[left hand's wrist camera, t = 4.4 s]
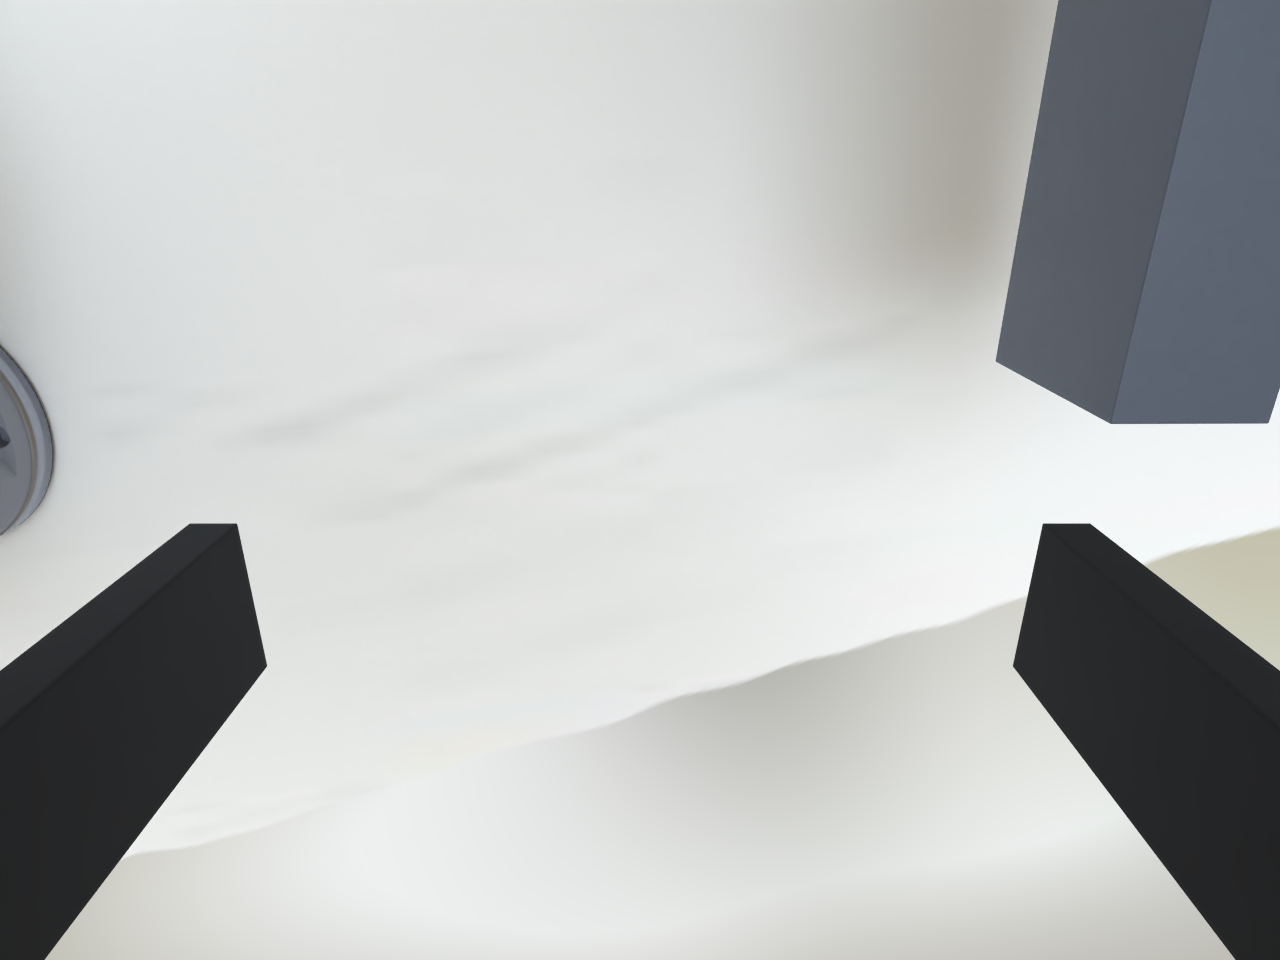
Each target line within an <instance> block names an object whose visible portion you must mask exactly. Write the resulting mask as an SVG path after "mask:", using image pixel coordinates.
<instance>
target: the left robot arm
mask: <svg viewBox="0 0 1280 960" xmlns="http://www.w3.org/2000/svg"><path fill="white" fill-rule="evenodd" d="M51 471H52V443H51V436H50V431H49V427H48V423H47V420H46V417H45V414H44V412H43V409H42V407H41V405H40V402H39V400H38V398H37V396H36V394H35V392H34V391H33V389H32V387H31V385H30V384H29V382H28V381H27V379H26V378H25V376H24V375H23V373H22V372H21V371H20V369H19V368H18V367H17V365H16V364H15V363H14V362H13V360H12V359H11V358H10V357H9V356H8V355H7V354H6V353H5V352H4V351H3V349H2V348H0V536H1V535H3V534H5V533H7V532H8V531H10V530H12V529H14V528H15V527H17V526H18V525H20V524H21V523H22V522H23V521H24V520H26V519H27V518H28V517H29V516H30V515H31V514H32V513H33V511H34V510H35V509H36V508H37V506H38V505H39V503H40V502H41V500H42V498H43V496H44V494H45V492H46V490H47V487H48V484H49V481H50V476H51ZM266 667H267V663H266V659H265V654H264V649H263V645H262V640H261V635H260V630H259V626H258V621H257V616H256V611H255V607H254V602H253V597H252V592H251V588H250V583H249V578H248V574H247V569H246V564H245V559H244V555H243V550H242V545H241V540H240V536H239V531H238V526H237V524H189V525H188V526H186V527H185V528H184V529H182V530H181V531H180V532H179V533H177V534H176V535H175V536H173V537H172V538H171V539H170V540H168V541H167V542H166V543H164V544H163V545H162V546H161V547H159V548H158V549H157V550H155V551H154V552H153V553H152V554H150V555H149V556H148V557H146V558H145V559H144V560H142V561H141V562H140V563H139V564H137V565H136V566H135V567H133V568H132V569H131V570H130V571H128V572H127V573H126V574H124V575H123V576H122V577H121V578H119V579H118V580H117V581H115V582H114V583H113V584H112V585H110V586H109V587H108V588H106V589H105V590H104V591H103V592H101V593H100V594H99V595H97V596H96V597H95V598H94V599H92V600H91V601H90V602H88V603H87V604H86V605H85V606H83V607H82V608H81V609H79V610H78V611H77V612H76V613H74V614H73V615H72V616H70V617H69V618H68V619H66V620H65V621H64V622H63V623H61V624H60V625H59V626H57V627H56V628H55V629H54V630H52V631H51V632H50V633H48V634H47V635H46V636H45V637H43V638H42V639H41V640H39V641H38V642H37V643H36V644H34V645H33V646H32V647H30V648H29V649H28V650H27V651H25V652H24V653H23V654H21V655H20V656H19V657H18V658H16V659H15V660H14V661H12V662H11V663H10V664H9V665H7V666H6V667H5V668H3V669H2V670H1V671H0V960H45V958H46V957H47V956H48V954H49V953H50V952H51V950H52V949H53V948H54V946H55V945H56V944H57V942H58V941H59V940H60V938H61V937H62V936H63V934H64V933H65V932H66V931H67V929H68V928H69V926H70V925H71V924H72V923H73V921H74V920H75V919H76V917H77V916H78V915H79V913H80V912H81V911H82V909H83V908H84V907H85V906H86V904H87V903H88V901H89V900H90V899H91V898H92V896H93V895H94V894H95V892H96V891H97V890H98V888H99V887H100V886H101V884H102V883H103V882H104V880H105V879H106V878H107V877H108V875H109V874H110V873H111V871H112V870H113V869H114V867H115V866H116V865H117V863H118V862H119V861H120V859H121V858H122V857H123V855H124V854H125V853H126V851H127V850H128V849H129V847H130V846H131V845H132V844H133V842H134V841H135V840H136V838H137V837H138V836H139V834H140V833H141V832H142V830H143V829H144V828H145V826H146V825H147V824H148V822H149V821H150V820H151V818H152V817H153V816H154V815H155V813H156V812H157V811H158V809H159V808H160V807H161V805H162V804H163V803H164V801H165V800H166V799H167V797H168V796H169V795H170V793H171V792H172V791H173V789H174V788H175V787H176V786H177V784H178V783H179V782H180V780H181V779H182V778H183V776H184V775H185V774H186V772H187V771H188V770H189V768H190V767H191V766H192V764H193V763H194V762H195V760H196V759H197V758H198V757H199V755H200V754H201V753H202V751H203V750H204V749H205V747H206V746H207V745H208V743H209V742H210V741H211V739H212V738H213V737H214V735H215V734H216V733H217V731H218V730H219V729H220V727H221V726H222V725H223V724H224V722H225V721H226V720H227V718H228V717H229V716H230V714H231V713H232V712H233V710H234V709H235V708H236V706H237V705H238V704H239V702H240V701H241V700H242V698H243V697H244V696H245V695H246V693H247V692H248V691H249V689H250V688H251V687H252V685H253V684H254V683H255V681H256V680H257V679H258V677H259V676H260V675H261V673H262V672H263V671H264V669H265V668H266ZM1013 667H1014V668H1015V669H1016V671H1017V672H1018V673H1019V675H1020V676H1021V677H1022V679H1023V680H1024V681H1025V683H1026V684H1027V685H1028V687H1029V688H1030V689H1031V691H1032V692H1033V693H1034V695H1035V696H1036V697H1037V698H1038V700H1039V701H1040V702H1041V704H1042V705H1043V706H1044V708H1045V709H1046V710H1047V712H1048V713H1049V714H1050V716H1051V717H1052V718H1053V720H1054V721H1055V722H1056V724H1057V725H1058V726H1059V727H1060V729H1061V730H1062V731H1063V733H1064V734H1065V735H1066V737H1067V738H1068V739H1069V741H1070V742H1071V743H1072V745H1073V746H1074V747H1075V749H1076V750H1077V751H1078V753H1079V754H1080V755H1081V757H1082V758H1083V759H1084V760H1085V762H1086V763H1087V764H1088V766H1089V767H1090V768H1091V770H1092V771H1093V772H1094V774H1095V775H1096V776H1097V778H1098V779H1099V780H1100V781H1101V783H1102V784H1103V785H1104V787H1105V788H1106V789H1107V791H1108V792H1109V793H1110V795H1111V796H1112V797H1113V799H1114V800H1115V801H1116V803H1117V804H1118V805H1119V807H1120V808H1121V809H1122V810H1123V812H1124V813H1125V814H1126V816H1127V817H1128V818H1129V820H1130V821H1131V822H1132V824H1133V825H1134V826H1135V828H1136V829H1137V830H1138V832H1139V833H1140V834H1141V836H1142V837H1143V838H1144V840H1145V841H1146V842H1147V844H1148V845H1149V846H1150V847H1151V849H1152V850H1153V851H1154V853H1155V854H1156V855H1157V857H1158V858H1159V859H1160V861H1161V862H1162V863H1163V865H1164V866H1165V867H1166V869H1167V870H1168V871H1169V873H1170V874H1171V875H1172V877H1173V878H1174V879H1175V880H1176V882H1177V883H1178V884H1179V886H1180V887H1181V888H1182V890H1183V891H1184V892H1185V894H1186V895H1187V896H1188V898H1189V899H1190V900H1191V902H1192V903H1193V904H1194V906H1195V907H1196V908H1197V909H1198V911H1199V912H1200V913H1201V915H1202V916H1203V917H1204V919H1205V920H1206V921H1207V923H1208V924H1209V925H1210V927H1211V928H1212V929H1213V931H1214V932H1215V933H1216V934H1217V936H1218V937H1219V938H1220V940H1221V941H1222V942H1223V944H1224V945H1225V946H1226V948H1227V949H1228V950H1229V952H1230V953H1231V954H1232V956H1233V957H1234V958H1235V960H1280V671H1279V670H1278V669H1277V668H1275V667H1274V666H1273V665H1271V664H1270V663H1269V662H1268V661H1266V660H1265V659H1264V658H1262V657H1261V656H1260V655H1259V654H1257V653H1256V652H1255V651H1253V650H1252V649H1251V648H1250V647H1248V646H1247V645H1246V644H1244V643H1243V642H1242V641H1240V640H1239V639H1238V638H1237V637H1235V636H1234V635H1233V634H1231V633H1230V632H1229V631H1228V630H1226V629H1225V628H1224V627H1222V626H1221V625H1220V624H1219V623H1217V622H1216V621H1215V620H1213V619H1212V618H1211V617H1210V616H1208V615H1207V614H1206V613H1204V612H1203V611H1202V610H1201V609H1199V608H1198V607H1197V606H1195V605H1194V604H1193V603H1192V602H1190V601H1189V600H1188V599H1186V598H1185V597H1184V596H1183V595H1181V594H1180V593H1179V592H1177V591H1176V590H1175V589H1173V588H1172V587H1171V586H1170V585H1168V584H1167V583H1166V582H1165V581H1163V580H1162V579H1161V578H1159V577H1158V576H1157V575H1156V574H1154V573H1153V572H1152V571H1150V570H1149V569H1148V568H1146V567H1145V566H1144V565H1143V564H1141V563H1140V562H1139V561H1137V560H1136V559H1135V558H1134V557H1132V556H1131V555H1130V554H1128V553H1127V552H1126V551H1125V550H1123V549H1122V548H1121V547H1119V546H1118V545H1117V544H1116V543H1114V542H1113V541H1112V540H1110V539H1109V538H1108V537H1107V536H1105V535H1104V534H1103V533H1101V532H1100V531H1099V530H1098V529H1096V528H1095V527H1094V526H1092V525H1091V524H1043V526H1042V531H1041V536H1040V540H1039V545H1038V550H1037V555H1036V559H1035V564H1034V569H1033V573H1032V578H1031V583H1030V588H1029V592H1028V597H1027V602H1026V607H1025V611H1024V616H1023V621H1022V626H1021V630H1020V635H1019V640H1018V645H1017V649H1016V654H1015V659H1014V663H1013Z"/></svg>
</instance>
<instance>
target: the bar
mask: <svg viewBox="0 0 1280 960" xmlns="http://www.w3.org/2000/svg"><path fill="white" fill-rule="evenodd" d="M996 362H998V363H1000V364H1001V365H1003V366H1005V367H1007V368H1009V369H1011V370H1012V371H1014V372H1016V373H1018V374H1020V375H1022V376H1024V377H1025V378H1027V379H1029V380H1031V381H1033V382H1035V383H1036V384H1038V385H1040V386H1042V387H1044V388H1046V389H1048V390H1049V391H1051V392H1053V393H1055V394H1057V395H1059V396H1060V397H1062V398H1064V399H1066V400H1068V401H1070V402H1071V403H1073V404H1075V405H1077V406H1079V407H1081V408H1083V409H1084V410H1086V411H1088V412H1090V413H1092V414H1094V415H1095V416H1097V417H1099V418H1101V419H1103V420H1105V421H1106V422H1108V423H1110V424H1230V423H1269V420H1270V417H1271V414H1272V411H1273V407H1274V404H1275V401H1276V398H1277V395H1278V392H1279V389H1280V0H1059V1H1058V6H1057V12H1056V18H1055V23H1054V29H1053V35H1052V41H1051V46H1050V52H1049V58H1048V64H1047V69H1046V75H1045V81H1044V87H1043V92H1042V98H1041V104H1040V110H1039V115H1038V121H1037V127H1036V133H1035V138H1034V144H1033V150H1032V156H1031V161H1030V167H1029V173H1028V179H1027V184H1026V190H1025V196H1024V202H1023V207H1022V213H1021V219H1020V225H1019V230H1018V236H1017V242H1016V248H1015V253H1014V259H1013V265H1012V270H1011V276H1010V282H1009V288H1008V293H1007V299H1006V305H1005V311H1004V316H1003V322H1002V328H1001V334H1000V339H999V345H998V351H997V357H996Z"/></svg>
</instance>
